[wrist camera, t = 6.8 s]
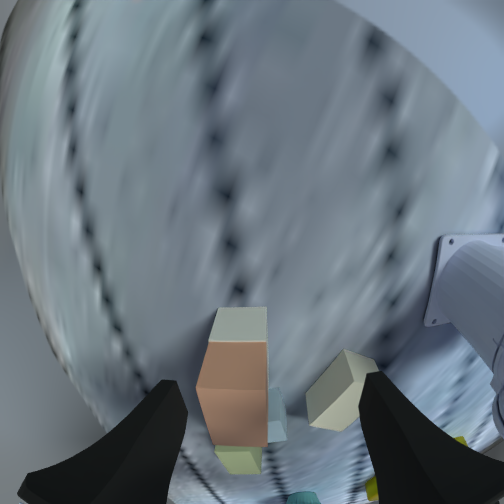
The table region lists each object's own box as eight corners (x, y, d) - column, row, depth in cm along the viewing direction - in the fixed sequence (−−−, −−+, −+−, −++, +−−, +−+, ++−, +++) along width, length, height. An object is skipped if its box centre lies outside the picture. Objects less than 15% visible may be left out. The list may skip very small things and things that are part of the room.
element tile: (360, 484, 32) (363, 504, 28) (410, 443, 27) (419, 467, 23) (418, 475, 33) (423, 491, 28) (466, 433, 28) (475, 451, 23)
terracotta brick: (268, 403, 18) (267, 446, 14) (221, 402, 18) (213, 444, 15) (266, 341, 16) (265, 389, 12) (209, 341, 16) (195, 387, 13)
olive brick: (219, 422, 25) (214, 451, 21) (252, 420, 25) (249, 451, 21) (233, 447, 27) (230, 474, 23) (262, 446, 27) (260, 473, 23)
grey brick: (218, 307, 20) (208, 340, 16) (266, 306, 20) (265, 340, 16) (227, 366, 22) (220, 401, 18) (268, 366, 22) (268, 402, 18)
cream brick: (343, 347, 21) (354, 381, 17) (373, 358, 21) (386, 390, 17) (305, 392, 23) (309, 425, 19) (334, 400, 23) (341, 431, 19)
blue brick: (279, 386, 23) (280, 420, 19) (285, 408, 24) (287, 440, 20) (216, 394, 23) (209, 426, 20) (227, 414, 25) (222, 445, 21)
